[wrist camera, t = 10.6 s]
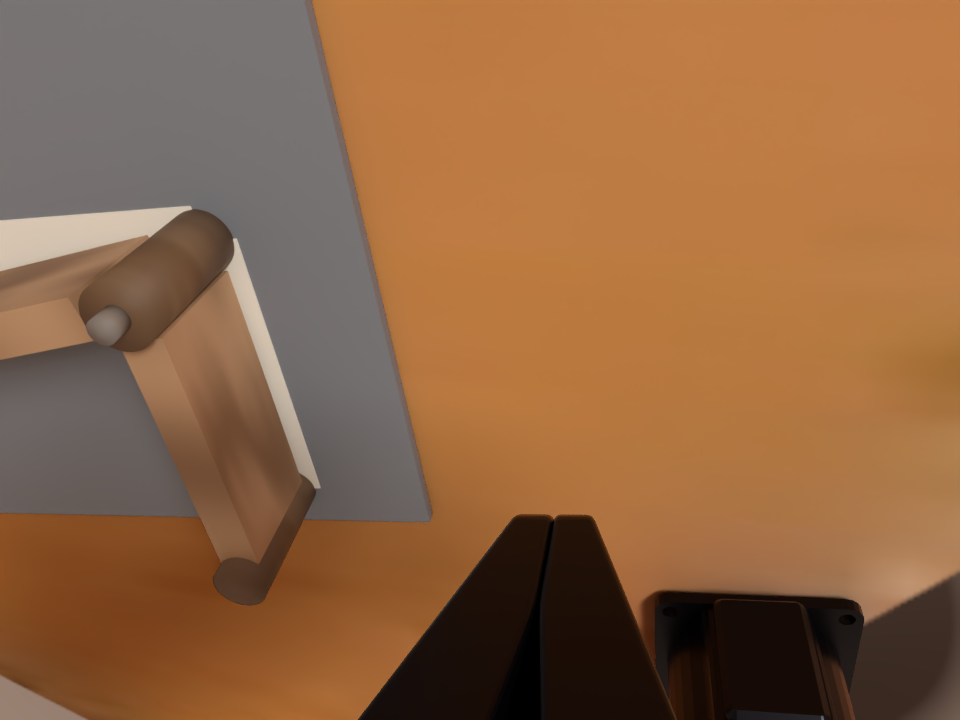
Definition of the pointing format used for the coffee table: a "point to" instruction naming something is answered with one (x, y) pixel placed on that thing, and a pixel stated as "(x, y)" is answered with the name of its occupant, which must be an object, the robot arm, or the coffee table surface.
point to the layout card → (160, 198)
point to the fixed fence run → (206, 394)
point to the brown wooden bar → (52, 298)
